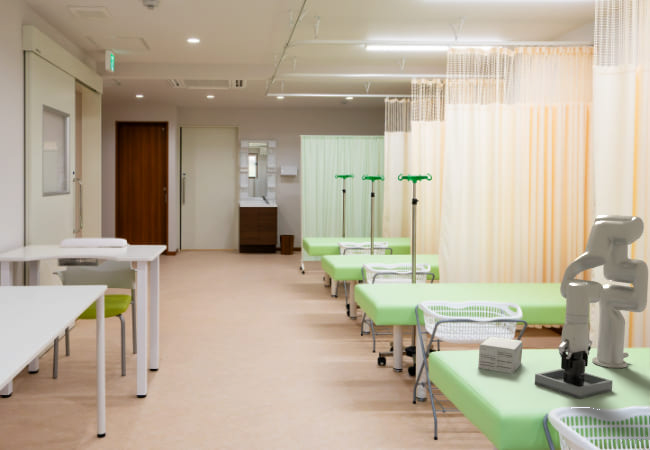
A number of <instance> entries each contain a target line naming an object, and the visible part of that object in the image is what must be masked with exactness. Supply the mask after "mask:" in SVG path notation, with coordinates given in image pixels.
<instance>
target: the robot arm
mask: <svg viewBox="0 0 650 450" xmlns="http://www.w3.org/2000/svg"><path fill="white" fill-rule="evenodd" d="M644 224H645V223H644V221H643V219H642V218H641V217H640V216H635V215H633V216H632V215H619V214H601V215H597V216H596V217H595V218H594V223H593V225H592V227H591V229H590V233H589V236H588V240H587V243H586V246H585V249H584V252H583V254H581V255H580V256H578V257H576V258H575V259H574V260H572V262H570V263H569V264H568V265H567V267H566V269H565V271H564V273H563V276H562V279H561V283H560V288H559V289H560V290H559V291H560V294H561V297H563V298H564V299H565V300H566V301H565V319H564V322H563V327H562V331H561V339H560V344H559V346H557V347H558V348H557V349H558V351H559V352H558V353H559V355H560V360H561V361H560V362H561V365H560V369H565V370H568V371H569V370H570V361H571V359H569V358H570V356H571V354H572V353H576V352H580V351H583V357H582V358H583V359H584V360H585V367H588V365H589V355H590V351H591V349H592V344H593V341H592V340H591V339H590V328H589V327H590V326H589V324H590V323H589V321H590V319H589V318H590V303H591V304H595V303H598V307H599V308H598V310H599V311H598V312H599V313H598V314H599V317H598V334H597V350H596V356H594V357H593V358H592V360H591V361H592V363H594V364H596V365H598V366H601V367H605V368H613V369H624V368H626V367H628V363H627V361H625V360H624V359H625V358H628V357H629V353H628V352H624V350H625V348H624V347H625V335H626V334H625V333H626V319H625V317H624V315H623V314H622V312H621V311H623V312H624V311H626V312H634V313H641V312H644V311H645V310H646V308H647V305H648V304H647V303H648V291H649V290H648V289H649V288H648V287H649V286H648V285H649V267H648V265H647V263H646V262H645V261H643V260H641V259H633V258H629V256H628V252H629V251H628V250H629V245H633V244H634V243H635V242H636V241H638V240H639V239H640V238H641V236H643V234H644V229H645V225H644ZM601 266H603V267H602V268H603V269H602V270H603V271H602V272H603V273H602V274H603V277H604V278H605V279H606V280H607V281H610V282H614V283H621V284H622V283H624V284H630V285H632V286H628V285H627V286H626V285H619V284H612V283H609V284H604V285H602V283H600V282H599V281H594V280H587V279H580V278H579V279H578V278H576V277H577V276H578V275H579V274H580V273H583V272H584V271H587V270H591V269H594V268H598V267H601Z"/></svg>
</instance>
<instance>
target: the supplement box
mask: <svg viewBox="0 0 650 450" xmlns="http://www.w3.org/2000/svg"><path fill="white" fill-rule="evenodd" d="M478 349H479V350H478V352H479V354H478V366H477V367H478V368H479V369H482V368H483V370H488V369H489V371H495V372H500V373H501V372H502V373H506V374H514V372H515V371H516V370H517V369H518V368H519V367H520V365H521V364H522V355H523V340H520V339H519V340H518V339H511V338H506V337H505V338H504V337H497V336H488V338H486V339H485V340H483V342H482V343H480V344H479V348H478Z"/></svg>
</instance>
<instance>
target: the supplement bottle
mask: <svg viewBox="0 0 650 450" xmlns="http://www.w3.org/2000/svg"><path fill="white" fill-rule="evenodd" d="M582 357H583V351H580V352H576V353H572V354H571V356H570V358H569V359H571V361H570V370H569V371H568V370H565V369H564V377H563V382H565V383H568V384H571V385H575V386H578V387H581V386H583V385H584V377H585V373H586V366H585V360H584V359H583V358H582Z"/></svg>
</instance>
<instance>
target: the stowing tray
mask: <svg viewBox="0 0 650 450" xmlns="http://www.w3.org/2000/svg"><path fill="white" fill-rule="evenodd" d="M563 377H564V369H562V368H557V369H553V370H549V371H544V372H540V373H534V385H537V386H540V387H543V388H546V389H549V390H551V391H555V392H557V393H561V394H564V395H567V396H570V397H571V398H572V397H573V398H575V399H578V400H581V399H584V398H589V397H593V396H596V395H601V394H604V393H608V392H612V390H613V380H611V379H608V378H605V377H602V376H598V375H594V374H590V373H588V372H585V377H584V385H583V386H581V387H578V386H575V385H571V384H568V383H565V382H563Z"/></svg>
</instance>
